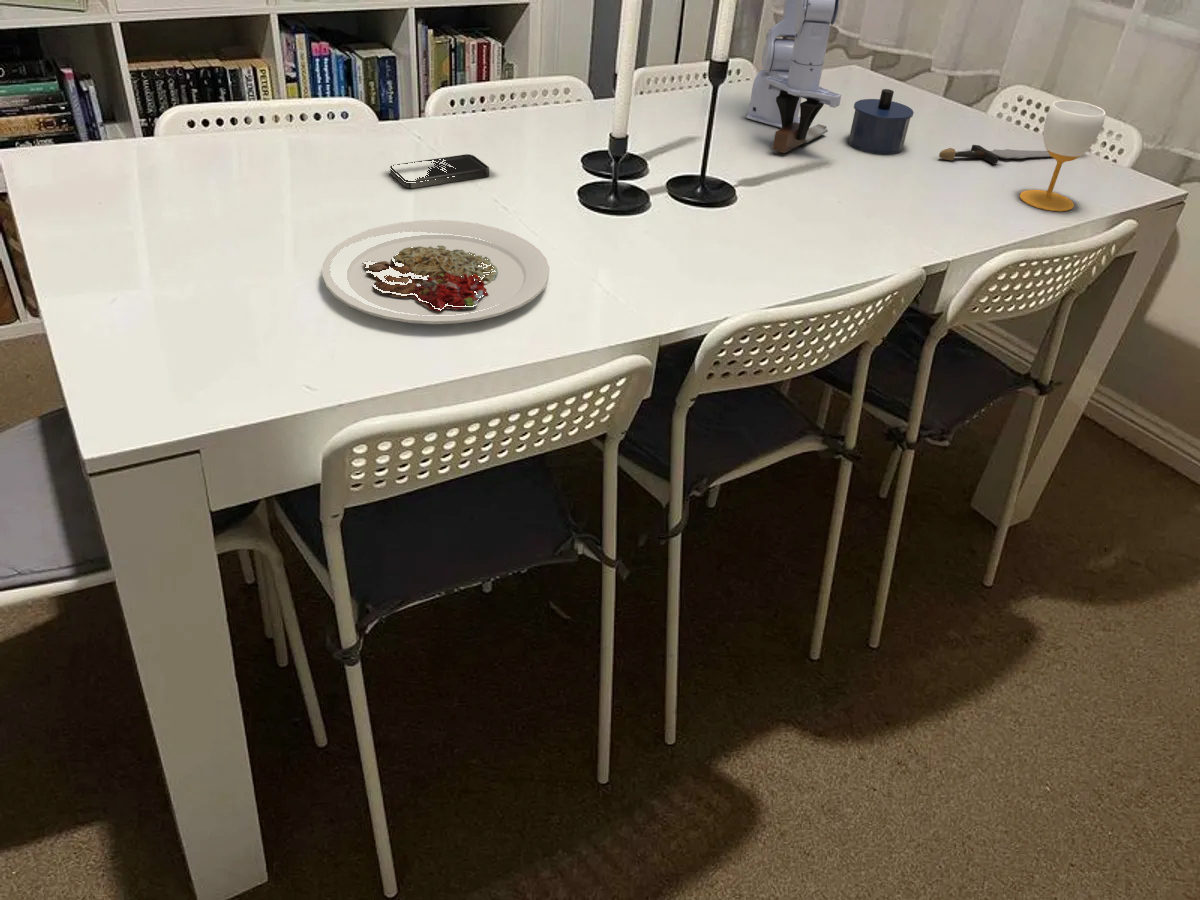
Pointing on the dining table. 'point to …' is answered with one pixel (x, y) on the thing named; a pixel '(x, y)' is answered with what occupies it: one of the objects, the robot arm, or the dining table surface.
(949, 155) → the dagger
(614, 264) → the dining table surface
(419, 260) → the plated food
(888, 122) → the pot
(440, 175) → the phone
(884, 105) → the pot lid
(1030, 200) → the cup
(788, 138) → the knife
